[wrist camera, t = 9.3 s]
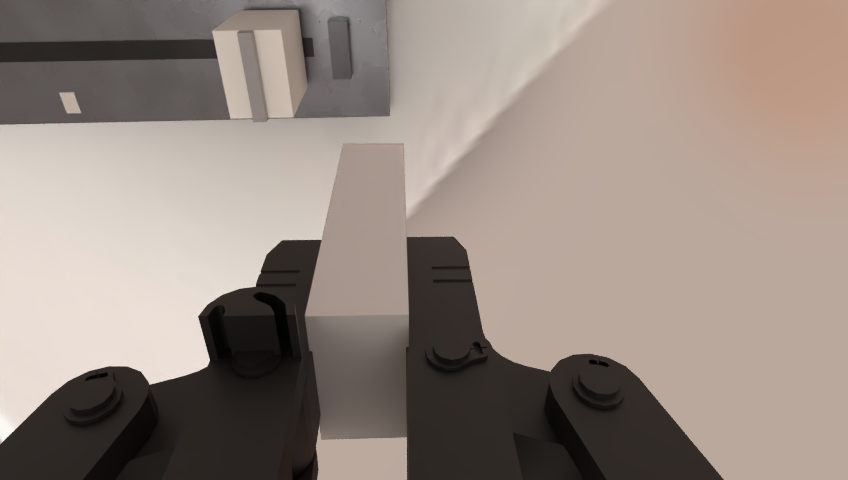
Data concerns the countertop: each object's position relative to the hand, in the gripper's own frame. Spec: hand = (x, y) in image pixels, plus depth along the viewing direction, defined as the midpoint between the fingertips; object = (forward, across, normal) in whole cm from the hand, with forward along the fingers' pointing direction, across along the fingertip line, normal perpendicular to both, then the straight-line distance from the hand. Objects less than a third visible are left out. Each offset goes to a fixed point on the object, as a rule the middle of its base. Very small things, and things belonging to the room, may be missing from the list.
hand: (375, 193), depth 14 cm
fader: (+18, -6, 0) cm, 19 cm away
